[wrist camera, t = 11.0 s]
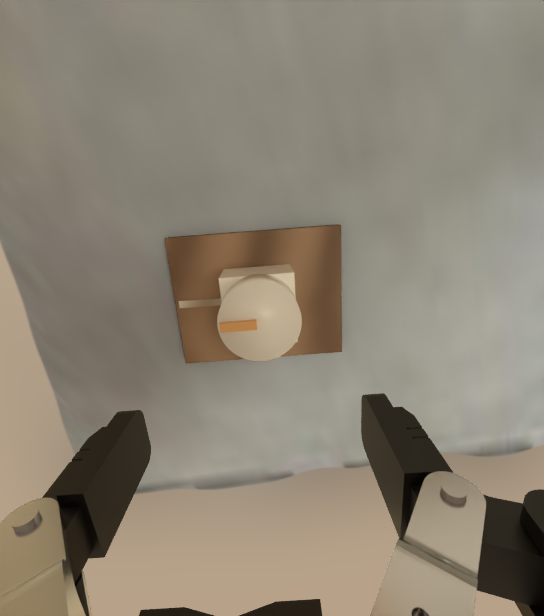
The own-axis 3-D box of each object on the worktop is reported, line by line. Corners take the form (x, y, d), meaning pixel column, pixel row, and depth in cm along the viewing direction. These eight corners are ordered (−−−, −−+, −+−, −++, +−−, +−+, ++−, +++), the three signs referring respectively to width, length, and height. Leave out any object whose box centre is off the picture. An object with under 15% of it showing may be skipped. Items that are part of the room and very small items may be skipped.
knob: (290, 262, 26) (300, 279, 20) (294, 326, 28) (304, 360, 22) (222, 268, 26) (211, 286, 20) (229, 332, 28) (221, 367, 22)
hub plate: (338, 224, 26) (350, 227, 22) (339, 347, 29) (350, 367, 26) (168, 237, 26) (151, 242, 22) (188, 358, 30) (177, 380, 26)
